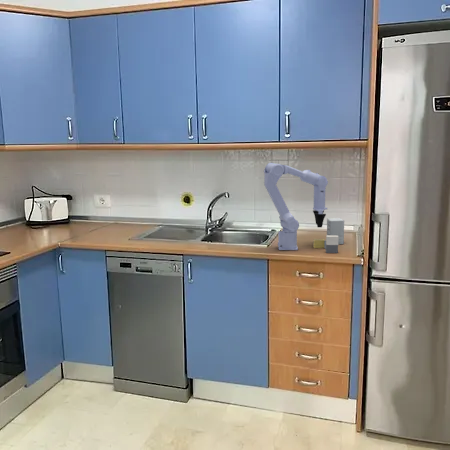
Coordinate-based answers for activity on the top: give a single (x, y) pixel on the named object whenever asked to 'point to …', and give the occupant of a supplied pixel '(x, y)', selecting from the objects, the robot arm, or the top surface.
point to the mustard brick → (318, 243)
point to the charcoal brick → (331, 248)
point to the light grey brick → (332, 239)
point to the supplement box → (336, 228)
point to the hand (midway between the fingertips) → (318, 225)
